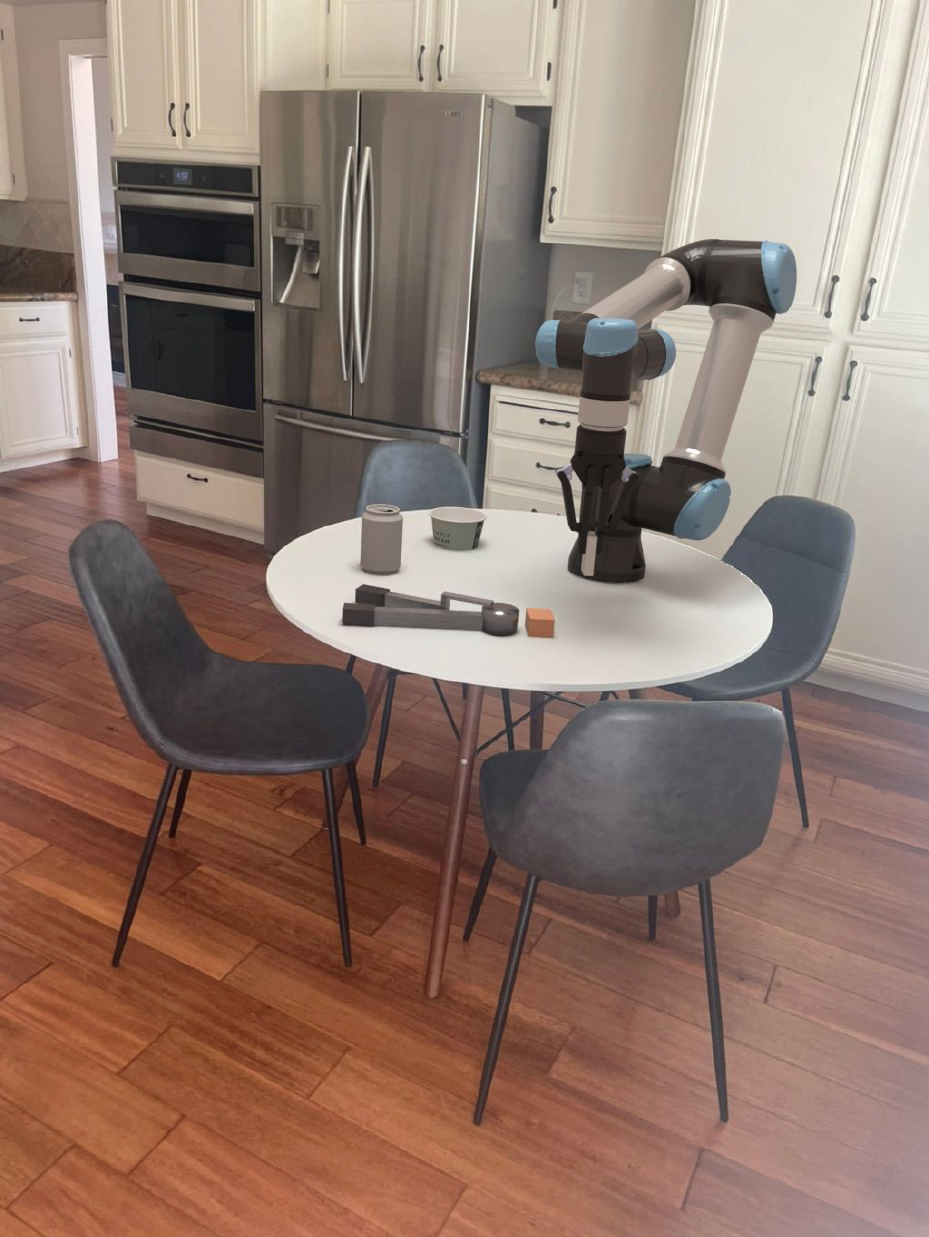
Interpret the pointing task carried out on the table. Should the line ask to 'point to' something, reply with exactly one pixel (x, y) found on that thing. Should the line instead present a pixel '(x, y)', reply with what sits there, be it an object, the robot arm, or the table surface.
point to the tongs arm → (411, 599)
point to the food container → (457, 527)
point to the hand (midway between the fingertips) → (587, 572)
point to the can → (381, 539)
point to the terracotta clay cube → (539, 622)
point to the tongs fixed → (435, 618)
